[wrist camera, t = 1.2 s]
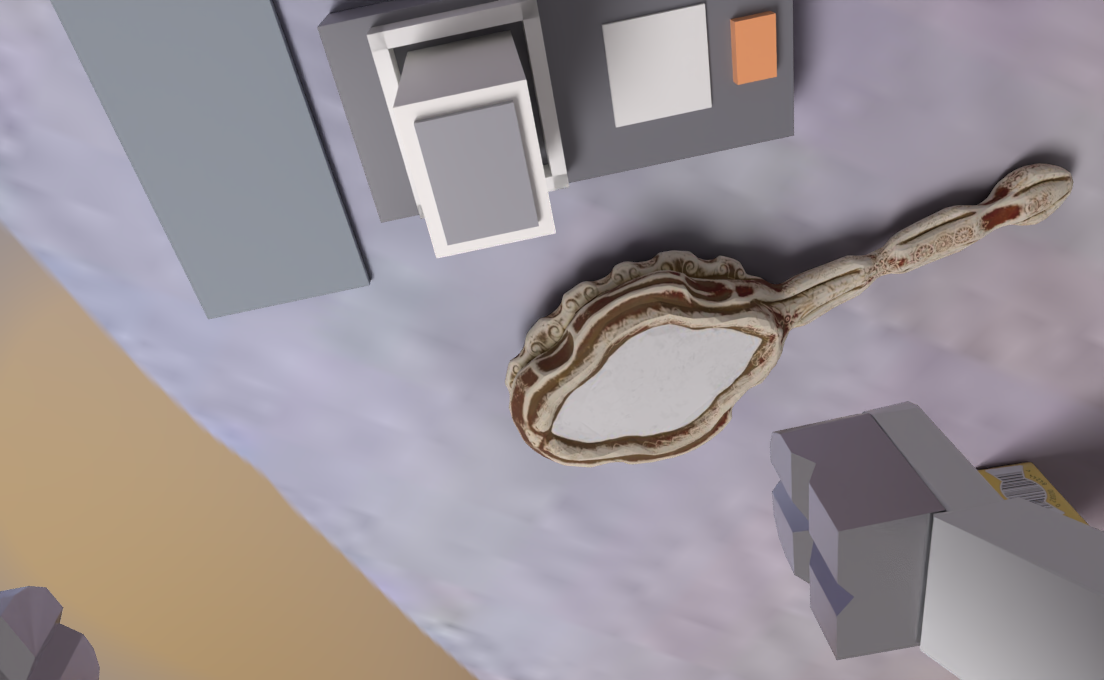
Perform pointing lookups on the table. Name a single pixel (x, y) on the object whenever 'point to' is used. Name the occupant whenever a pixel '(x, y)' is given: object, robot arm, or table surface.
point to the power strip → (579, 79)
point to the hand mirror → (709, 333)
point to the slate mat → (221, 145)
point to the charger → (473, 144)
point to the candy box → (1028, 487)
